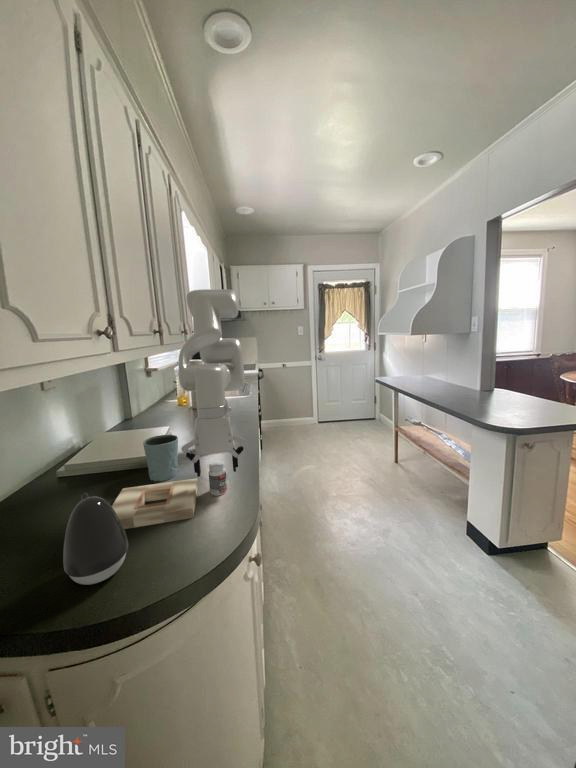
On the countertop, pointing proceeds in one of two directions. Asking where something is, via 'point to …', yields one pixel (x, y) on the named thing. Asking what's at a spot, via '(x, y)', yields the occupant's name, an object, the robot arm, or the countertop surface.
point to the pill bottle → (217, 478)
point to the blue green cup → (162, 457)
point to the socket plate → (139, 514)
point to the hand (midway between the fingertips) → (217, 472)
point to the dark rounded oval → (93, 541)
